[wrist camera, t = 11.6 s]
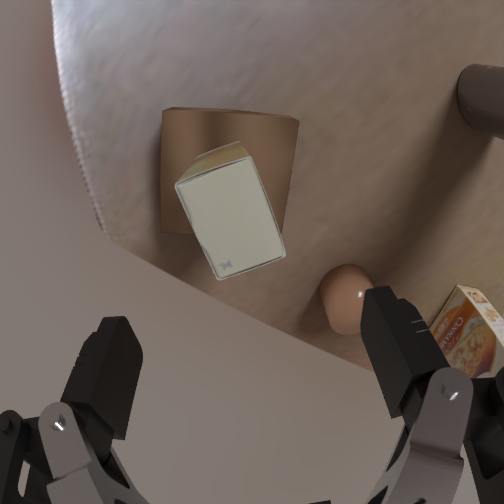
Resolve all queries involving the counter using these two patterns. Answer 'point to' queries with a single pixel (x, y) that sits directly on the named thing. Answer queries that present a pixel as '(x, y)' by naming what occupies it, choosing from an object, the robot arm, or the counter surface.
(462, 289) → the coffeecake box
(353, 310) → the pink rounded knob
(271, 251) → the skincare box
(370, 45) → the counter surface
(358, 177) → the counter surface
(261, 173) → the walnut block
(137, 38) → the counter surface
